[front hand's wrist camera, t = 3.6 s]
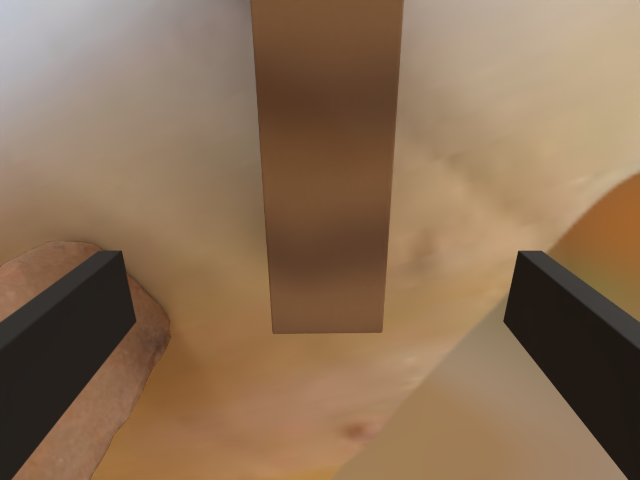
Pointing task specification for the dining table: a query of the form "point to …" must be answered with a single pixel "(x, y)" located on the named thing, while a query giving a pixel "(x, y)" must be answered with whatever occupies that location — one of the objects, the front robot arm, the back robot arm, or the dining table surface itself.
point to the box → (327, 157)
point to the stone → (109, 381)
